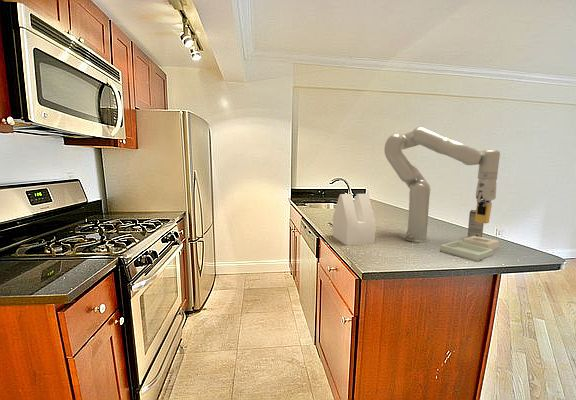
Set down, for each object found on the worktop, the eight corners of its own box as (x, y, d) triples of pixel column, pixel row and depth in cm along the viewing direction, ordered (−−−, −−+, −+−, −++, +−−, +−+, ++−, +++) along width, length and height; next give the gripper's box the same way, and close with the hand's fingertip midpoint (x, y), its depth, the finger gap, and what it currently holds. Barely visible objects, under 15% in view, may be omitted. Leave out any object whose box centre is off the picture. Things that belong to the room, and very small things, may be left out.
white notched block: (332, 236, 156) (333, 192, 152) (357, 234, 159) (358, 192, 156) (346, 245, 137) (348, 196, 134) (374, 244, 140) (376, 195, 137)
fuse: (485, 223, 130) (489, 203, 129) (474, 221, 135) (477, 201, 133) (488, 222, 132) (492, 202, 130) (477, 220, 136) (480, 200, 135)
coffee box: (468, 237, 153) (470, 209, 150) (482, 239, 149) (485, 210, 147) (466, 241, 145) (469, 211, 143) (481, 243, 142) (484, 213, 139)
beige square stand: (487, 252, 127) (488, 244, 127) (462, 246, 137) (463, 238, 136) (498, 248, 133) (499, 240, 132) (473, 243, 142) (474, 235, 142)
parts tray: (477, 261, 115) (478, 255, 115) (440, 251, 129) (440, 245, 128) (492, 256, 122) (493, 249, 122) (455, 246, 136) (456, 241, 136)
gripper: (488, 177, 123) (483, 217, 125) (504, 176, 131) (499, 214, 134) (470, 176, 129) (466, 214, 132) (486, 175, 137) (482, 211, 140)
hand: (482, 213), depth 133 cm, fingers closed on fuse, 3 cm apart
